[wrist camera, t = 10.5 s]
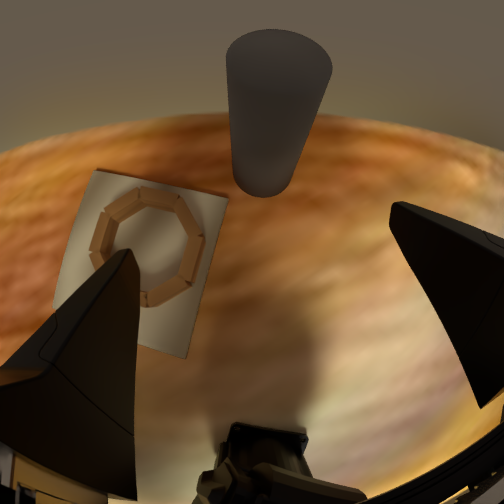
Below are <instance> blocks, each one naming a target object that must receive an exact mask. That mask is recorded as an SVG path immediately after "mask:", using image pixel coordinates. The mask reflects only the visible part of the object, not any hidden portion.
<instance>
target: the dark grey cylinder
mask: <svg viewBox="0 0 504 504" xmlns="http://www.w3.org/2000/svg"><path fill="white" fill-rule="evenodd" d="M226 68H227V84H228V101H229V119H230V135H231V150H232V165H233V176H234V179H235V181H236V183H237V185H238V186H239V187H240V188H241V189H242V190H243V191H244V192H246V193H247V194H249V195H252V196H255V197H261V198H266V197H272V196H275V195H277V194H279V193H281V192H282V191H283V190H284V189H285V188H286V187H287V186H288V184H289V183H290V180H291V178H292V175H293V173H294V170H295V168H296V165H297V162H298V160H299V157H300V155H301V152H302V150H303V147H304V145H305V142H306V139H307V137H308V134H309V132H310V129H311V127H312V124H313V121H314V119H315V116H316V114H317V111H318V108H319V106H320V103H321V101H322V98H323V95H324V93H325V90H326V88H327V85H328V82H329V80H330V77H331V74H332V62H331V59H330V57H329V56H328V54H327V53H326V51H325V50H324V49H323V48H322V47H321V46H320V45H319V44H317V43H316V42H314V41H313V40H311V39H309V38H307V37H305V36H303V35H300V34H298V33H295V32H291V31H286V30H278V29H266V30H258V31H254V32H251V33H247V34H245V35H243V36H241V37H240V38H238V39H237V40H235V41H234V42H233V43H232V44H231V46H230V47H229V48H228V51H227V54H226Z"/></svg>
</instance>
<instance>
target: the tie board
mask: <svg viewBox="0 0 504 504" xmlns="http://www.w3.org/2000/svg"><path fill="white" fill-rule="evenodd" d="M228 201H229V200H228V198H224V197H219V196H215V195H211V194H207V193H202V192H198V191H194V190H189V189H185V188H180V187H176V186H171V185H166V184H162V183H157V182H152V181H147V180H143V179H138V178H133V177H128V176H122V175H117V174H112V173H107V172H101V171H96V170H94V171H93V173H92V176H91V178H90V181H89V183H88V186H87V188H86V191H85V194H84V196H83V199H82V202H81V204H80V207H79V210H78V213H77V216H76V219H75V222H74V225H73V228H72V231H71V234H70V237H69V241H68V244H67V247H66V251H65V255H64V258H63V262H62V266H61V270H60V274H59V278H58V282H57V286H56V291H55V296H54V301H53V306H52V308H54V309H56V310H57V309H58V308H59V307H60V306H61V305H62V304H63V303H64V302H65V301H66V300H67V299H68V298H69V297H70V296H71V295H72V294H73V293H74V292H75V291H76V290H77V289H78V288H79V287H80V286H81V285H82V284H83V283H84V282H85V281H86V280H87V279H88V278H89V277H90V276H91V275H92V274H93V273H94V272H95V271H96V270H97V269H99V268H100V267H101V266H102V265H103V264H104V263H105V262H106V261H107V260H108V259H109V258H110V257H112V256H113V255H114V254H115V253H116V252H117V251H118V250H121V249H126V248H130V249H131V250H132V251H133V254H134V256H135V259H136V261H137V264H138V266H139V269H140V321H139V332H138V343H137V344H140V345H143V346H146V347H149V348H152V349H155V350H158V351H160V352H164V353H167V354H170V355H173V356H176V357H179V358H182V359H186V357H187V353H188V349H189V345H190V341H191V337H192V333H193V329H194V325H195V321H196V317H197V313H198V309H199V305H200V301H201V297H202V294H203V290H204V286H205V282H206V279H207V275H208V271H209V268H210V264H211V260H212V257H213V253H214V250H215V246H216V242H217V239H218V235H219V232H220V228H221V225H222V221H223V218H224V215H225V211H226V208H227V204H228Z"/></svg>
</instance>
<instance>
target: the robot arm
mask: <svg viewBox="0 0 504 504" xmlns="http://www.w3.org/2000/svg"><path fill="white" fill-rule="evenodd" d="M389 227H390V230H391V232H392V234H393V236H394V237H395V239H396V241H397V243H398V245H399V247H400V249H401V251H402V253H403V255H404V257H405V259H406V261H407V263H408V264H409V266H410V268H411V269H412V271H413V273H414V274H415V276H416V278H417V279H418V281H419V283H420V284H421V286H422V288H423V289H424V291H425V293H426V295H427V296H428V298H429V300H430V302H431V304H432V305H433V307H434V309H435V311H436V313H437V315H438V317H439V319H440V320H441V322H442V324H443V326H444V328H445V330H446V332H447V334H448V336H449V338H450V340H451V342H452V344H453V347H454V349H455V351H456V353H457V355H458V357H459V360H460V362H461V364H462V367H463V369H464V371H465V373H466V376H467V378H468V381H469V383H470V385H471V388H472V390H473V393H474V396H475V398H476V401H477V403H478V406H479V408H480V409H482V408H483V407H485V406H486V405H487V404H489V403H490V402H491V401H493V400H494V399H495V398H497V397H498V396H499V395H501V394H502V393H503V392H504V239H503V238H501V237H498V236H496V235H493V234H491V233H488V232H486V231H484V230H483V231H482V230H481V229H479V228H476V227H474V226H471V225H469V224H466V223H463V222H461V221H458V220H456V219H453V218H450V217H447V216H445V215H442V214H439V213H436V212H434V211H431V210H428V209H425V208H422V207H419V206H416V205H413V204H410V203H407V202H404V201H400V202H394V203H393V204H392V206H391V213H390V219H389ZM139 321H140V269H139V266H138V264H137V261H136V259H135V256H134V254H133V251H132V250H131V249H130V248H126V249H121V250H118V251H117V252H116V253H115V254H114V255H113V256H112V257H110V258H109V259H108V260H107V261H106V262H105V263H104V264H103V265H102V266H101V267H100V268H99V269H97V270H96V271H95V272H94V273H93V274H92V275H91V276H90V277H89V278H88V279H87V280H86V281H85V282H84V283H83V284H82V285H81V286H80V287H79V288H78V289H77V290H76V291H75V292H74V293H73V294H72V295H71V296H70V297H69V298H68V299H67V300H66V301H65V302H64V303H63V304H62V305H61V306H60V307H59V308H58V309H57V310H56V311H55V313H53V314H52V315H51V316H50V317H49V318H48V319H47V320H46V321H45V323H44V324H43V325H42V326H41V327H40V328H39V329H38V330H37V331H36V332H35V333H34V334H33V335H32V336H31V337H30V338H29V339H28V340H27V341H26V342H25V343H24V344H23V345H22V346H21V347H20V348H19V349H18V350H17V351H16V352H15V353H14V354H13V355H12V356H11V357H10V358H9V359H8V360H7V361H6V362H5V363H4V364H3V365H2V366H1V367H0V504H108V498H112V499H119V500H128V501H137V486H136V471H135V444H134V437H133V436H134V397H135V373H136V356H137V343H138V332H139ZM235 427H239V428H240V429H239V430H235V429H234V428H235ZM301 438H305V439H304V440H303V441H300V439H301ZM308 440H309V439H308V436H307V435H306V434H303V433H295V432H288V431H282V430H275V429H269V428H264V427H258V426H253V425H248V424H243V423H239V422H235V423H233V424H232V425H231V428H230V431H229V435H228V438H227V442H222V443H220V447H219V450H218V454H217V457H216V461H215V464H214V470H210V471H203V472H202V474H201V475H200V476H199V479H198V483H197V493H198V494H197V496H196V497H195V499H194V500H193V502H192V504H439V503H441V502H442V501H444V500H446V499H447V498H449V497H451V496H452V495H454V494H455V493H457V492H458V491H460V490H461V489H463V488H464V487H466V486H467V485H468V488H469V490H470V492H469V493H466V494H464V495H462V496H460V497H458V498H457V499H455V502H456V503H454V504H504V405H503V409H502V415H501V421H500V424H499V425H497V426H496V427H495V428H494V429H492V430H491V431H490V432H488V433H487V434H486V435H484V436H483V437H482V438H480V439H479V440H478V441H476V442H475V443H473V444H472V445H470V446H469V447H467V448H466V449H465V450H463V451H461V452H460V453H458V454H457V455H455V456H454V457H452V458H450V459H449V460H447V461H446V462H444V463H442V464H440V465H439V466H437V467H435V468H434V469H432V470H430V471H428V472H426V473H424V474H423V475H421V476H419V477H417V478H415V479H413V480H411V481H409V482H407V483H405V484H402V485H400V486H398V487H396V488H394V489H392V490H389V491H387V492H385V493H382V494H380V495H377V496H375V497H372V498H370V499H367V497H366V495H365V494H364V493H363V492H362V491H360V490H359V489H356V488H351V487H346V486H342V485H338V484H334V483H330V482H326V481H322V480H318V479H315V478H313V476H312V474H311V471H310V469H309V467H308V465H307V462H306V460H305V458H304V455H303V454H304V451H305V449H306V446H307V443H308Z"/></svg>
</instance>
